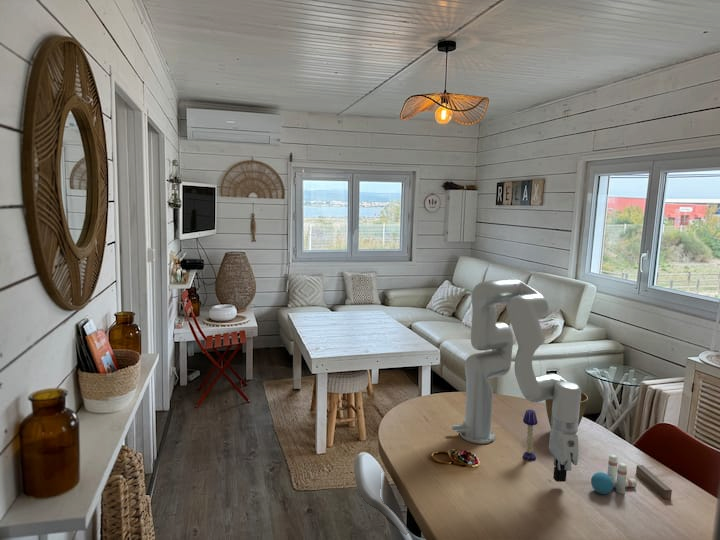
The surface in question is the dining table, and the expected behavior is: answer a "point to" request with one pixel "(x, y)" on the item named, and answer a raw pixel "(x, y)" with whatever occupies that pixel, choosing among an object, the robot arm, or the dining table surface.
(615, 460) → the pin
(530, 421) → the toy lamp
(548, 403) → the plant pot
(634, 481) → the front pin
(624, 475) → the pin
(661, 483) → the back rail
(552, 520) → the dining table surface
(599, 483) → the ball
